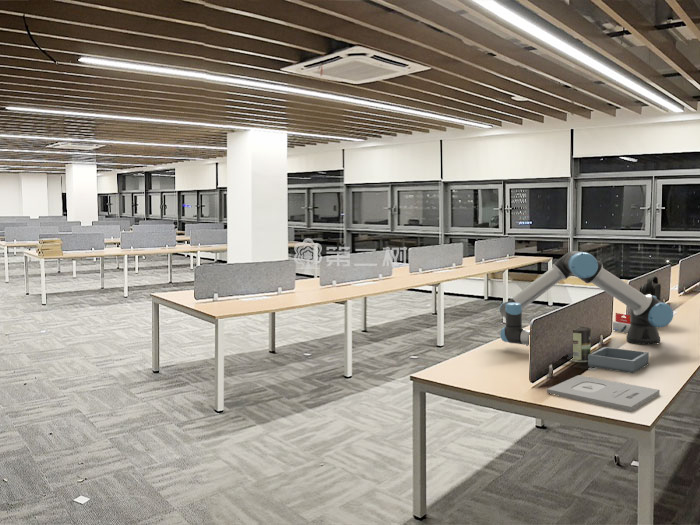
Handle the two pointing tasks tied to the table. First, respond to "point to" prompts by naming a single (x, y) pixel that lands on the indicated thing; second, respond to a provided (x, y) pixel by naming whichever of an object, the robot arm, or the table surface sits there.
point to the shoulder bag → (651, 287)
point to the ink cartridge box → (621, 323)
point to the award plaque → (604, 392)
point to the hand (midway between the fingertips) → (577, 343)
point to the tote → (618, 359)
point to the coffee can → (581, 344)
